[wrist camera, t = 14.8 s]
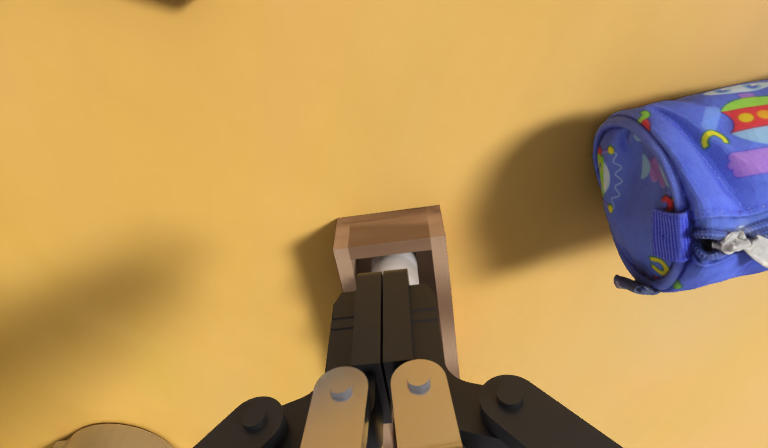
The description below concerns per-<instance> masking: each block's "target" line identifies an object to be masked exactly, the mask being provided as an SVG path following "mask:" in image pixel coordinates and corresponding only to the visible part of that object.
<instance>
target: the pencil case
mask: <svg viewBox="0 0 768 448" xmlns="http://www.w3.org/2000/svg"><path fill="white" fill-rule="evenodd" d="M592 157H593V164H594V168H595V173H596V177H597V180H598V183H599V186H600V187H601V192H602V199H603V205H604V210H605V214H606V217H607V220H608V222H609V226H610V230H611V233H612V236H613V240H614V242H615V245H616V248H617V250H618V253H619V255H620V258H621V259H622V261H623V263H624V265H625V267H626V268H627V270H628V271H629V272H630V274H631V275H632V276H633V277H634V278H635V281H633V280H631V279H629V278H626V277H622V276H619V275H615V277H614V284H615V286H616V287H617V288H621V289H627V290H629V291H631V292H634V293H637V294H643V295H655V294H658V293H660V292H678V291H684V290H691V289H695V288H698V287H702V286H705V285H709V284H713V283H717V282H721V281H724V280H727V279H730V278H734V277H738V276H743V275H750V274H755V273H760V272H763V271H767V270H768V79H766V80H760V81H753V82H745V83H741V84H736V85H732V86H727V87H723V88H718V89H714V90H710V91H706V92H702V93H698V94H694V95H690V96H686V97H682V98H679V99H676V100H667V101H658V102H654V103H651V104H648V105H645V106H641V107H637V108H634V109H628V110H621V111H618V112H615V113H613V114H612V115H610V116H609V117H608V118H607V119H606V121H605V122H604V123H602V125H601V126H600V127H599V128H598V130H597V132H596V134H595V137H594V141H593V153H592Z"/></svg>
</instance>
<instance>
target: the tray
mask: <svg viewBox="0 0 768 448" xmlns="http://www.w3.org/2000/svg"><path fill="white" fill-rule="evenodd" d="M333 252H334V256H335V260H336V264H337V268H338V272H339V276H340V280H341V284H342V288H343V292H352V291H356V285H357V275H358V274H361V273H370V272H379V271H382V274H383V271H387V270H396V269H405V268H407V270H408V276H409V283H410V285H416V284H427V285H428V286H429V287H430V289H431V290H432V291H433V292H434V294H435V298H436V305H437V313H438V321H439V328H440V335H441V343H442V350H443V358H444V363H445V365H446V367H447V369H448V370H449V371H450V372H451V373H452V374H453V375H454V376H455V377H457V378H459V379H460V377H459V367H458V357H457V347H456V336H455V326H454V316H453V306H452V296H451V286H450V276H449V265H448V255H447V245H446V235H445V230H444V225H443V220H442V215H441V210H440V205H437V206H429V207H421V208H413V209H406V210H398V211H390V212H383V213H375V214H367V215H360V216H352V217H344V218H337V225H336V232H335V239H334V246H333ZM392 418H393V423H388V424H383V448H397V438H396V429H395V420H394V415H393V410H392Z"/></svg>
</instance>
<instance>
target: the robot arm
mask: <svg viewBox="0 0 768 448" xmlns="http://www.w3.org/2000/svg"><path fill="white" fill-rule="evenodd" d="M392 410H393V415H394V420H395V429H396V438H397V448H623V447H621V446H620V445H619V444H617V443H616V442H614V441H613V440H611V439H610V438H609V437H607V436H606V435H604V434H603V433H601V432H600V431H599V430H597V429H596V428H594V427H593V426H592V425H590V424H589V423H587V422H586V421H584V420H583V419H582V418H580V417H579V416H577V415H576V414H574V413H573V412H572V411H570V410H569V409H567V408H566V407H565V406H563V405H562V404H560V403H559V402H557V401H556V400H555V399H553V398H552V397H550V396H549V395H547V394H546V393H545V392H543V391H542V390H540V389H539V388H538V387H536V386H535V385H533V384H532V383H530V382H529V381H527V380H526V379H524V378H521V377H518V376H514V375H500V376H496V377H494V378H492V379H490V380H488V381H487V382H486V383H485V384H484V385H479V384H474V383H469V382H465V381H463V380H460V379H459V378H457V377H455V376H454V375H453V374H452V373H451V372H450V371H449V370H448V369H447V367H446V365H445V363H444V358H443V350H442V343H441V335H440V328H439V321H438V313H437V305H436V298H435V294H434V292H433V291H432V290H431V289H430V287H429V286H428V285H427V284H416V285H410V283H409V276H408V270H407V268H405V269H396V270H387V271H383V274H382V271H379V272H370V273H361V274H358V275H357V285H356V291H352V292H343V293H341V295H340V296H339V298H338V299H337V301H336V302H335V304H334V306H333V314H332V322H331V332H330V338H329V345H328V353H327V361H326V369H325V374H323V375H322V376H321V377H320V378H319V380H318V381H317V383H316V385H315V387H314V391H312V392H311V393H310V394H308V395H306V396H305V397H303V398H300V399H298V400H295V401H293V402H290V403H288V404H285V405H282V406H281V404H280V403H279V402H278V401H277V400H275V399H274V398H271V397H265V396H264V397H256V398H252V399H250V400H248V401H246V402H244V403H242V404H241V405H240V406H238V407H237V408H236V409H235V410H234V411H233V412H232V413H231V414H229V415H228V416H227V417H226V418H225V419H224V420H223V421H222V422H221V423H220V424H218V425H217V426H216V427H215V428H214V429H213V430H212V431H211V432H210V433H209V434H208V435H206V436H205V437H204V438H203V439H202V440H201V441H200V442H199V443H198V444H197V445H195V446H194V447H193V448H383V424H388V423H393V418H392ZM53 448H174V447H173V446H171V445H170V444H169V443H168V442H167V441H166V440H164V439H162V438H161V437H159V436H157V435H156V434H153V433H151V432H149V431H146V430H144V429H140V428H137V427H133V426H128V425H122V424H98V425H92V426H89V427H85V428H83V429H81V430H79V431H77V432H75V433H74V434H73V435H72V436H71V437H70V438H69V439H68V440H64V441H57V442H56V443H55V445H54V446H53Z"/></svg>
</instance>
